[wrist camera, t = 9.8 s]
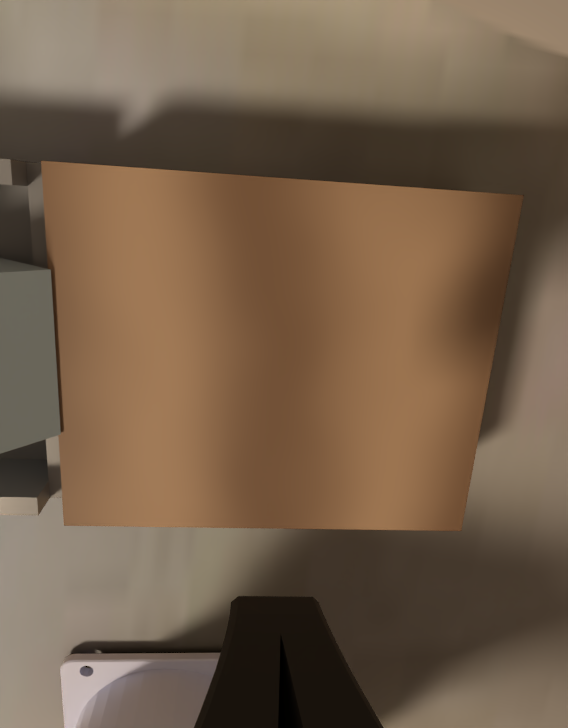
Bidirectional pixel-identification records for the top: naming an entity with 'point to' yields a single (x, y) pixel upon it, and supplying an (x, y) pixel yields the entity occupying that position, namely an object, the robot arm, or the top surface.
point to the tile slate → (27, 356)
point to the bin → (28, 245)
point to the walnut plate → (270, 347)
